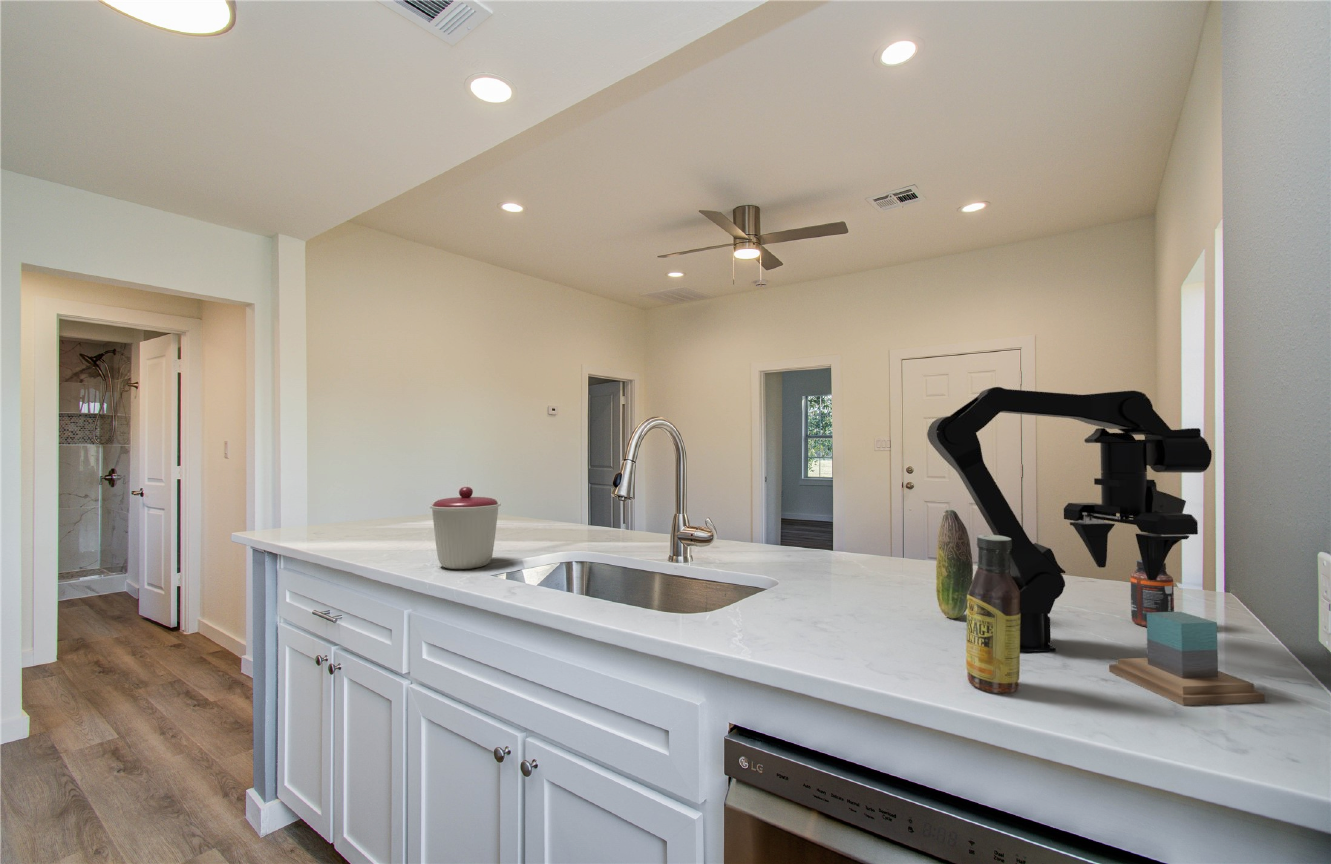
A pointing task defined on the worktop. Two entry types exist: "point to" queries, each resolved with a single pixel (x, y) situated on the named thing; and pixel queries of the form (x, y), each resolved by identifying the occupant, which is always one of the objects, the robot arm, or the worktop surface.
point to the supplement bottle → (1150, 594)
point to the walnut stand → (1187, 684)
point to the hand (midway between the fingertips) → (1125, 573)
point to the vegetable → (953, 565)
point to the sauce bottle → (993, 619)
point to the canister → (465, 530)
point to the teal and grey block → (1182, 644)
